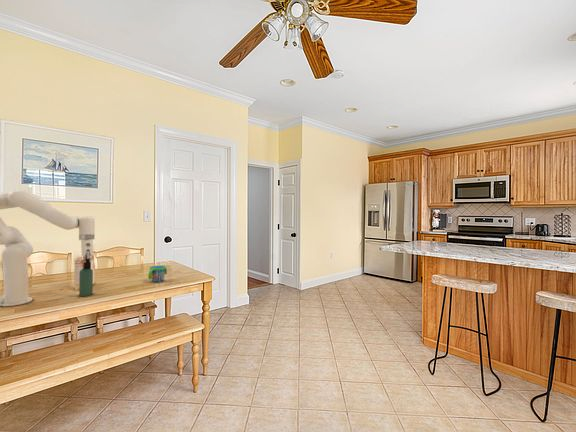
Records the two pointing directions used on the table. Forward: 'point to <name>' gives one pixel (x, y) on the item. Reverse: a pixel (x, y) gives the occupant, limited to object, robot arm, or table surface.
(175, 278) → the table surface
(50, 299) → the table surface
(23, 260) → the robot arm
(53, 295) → the table surface
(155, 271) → the snack cup
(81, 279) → the bottle
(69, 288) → the table surface
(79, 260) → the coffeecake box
